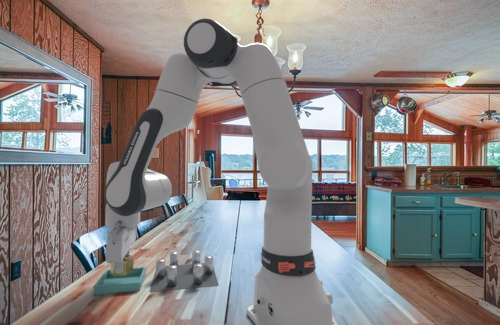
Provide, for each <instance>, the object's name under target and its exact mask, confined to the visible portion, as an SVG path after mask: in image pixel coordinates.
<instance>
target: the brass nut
mask: <svg viewBox="0 0 500 325" xmlns="http://www.w3.org/2000/svg"><path fill="white" fill-rule="evenodd" d="M123 264H124V270H123V272H122V273H115V265H114V263H110V270H111V274H112V275H113V276H114V277H115V276H126V275H128V274H130V273H132V272H133V268H134V256H132V255H131V254H129V255H125V257H124V259H123Z"/></svg>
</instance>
